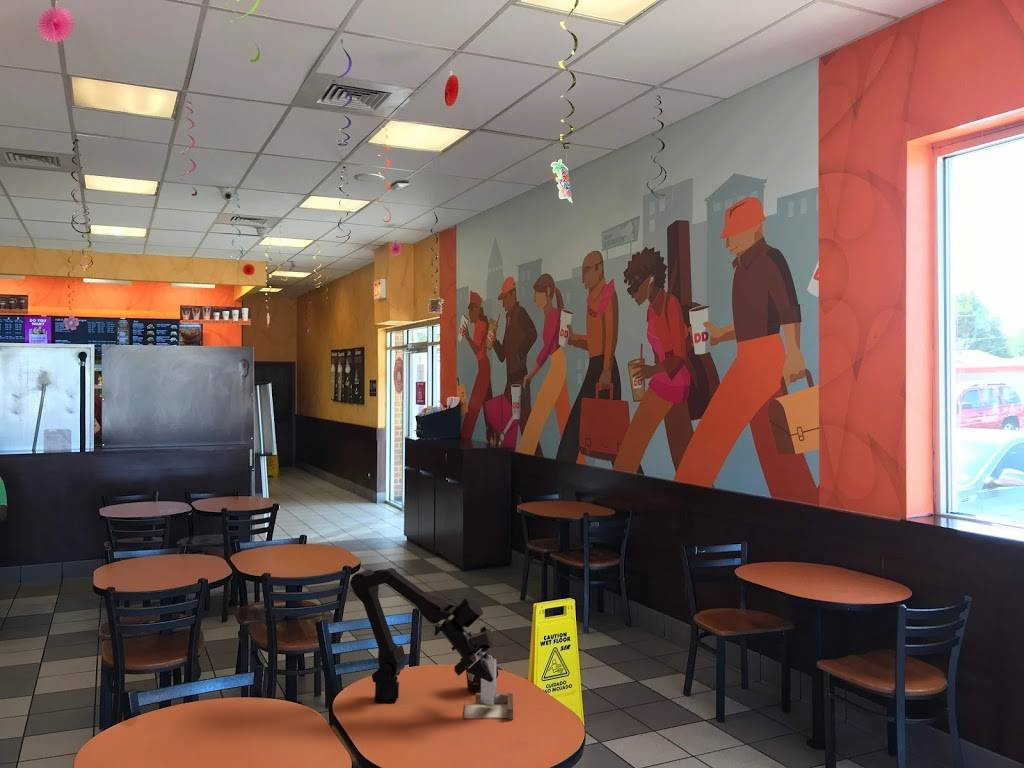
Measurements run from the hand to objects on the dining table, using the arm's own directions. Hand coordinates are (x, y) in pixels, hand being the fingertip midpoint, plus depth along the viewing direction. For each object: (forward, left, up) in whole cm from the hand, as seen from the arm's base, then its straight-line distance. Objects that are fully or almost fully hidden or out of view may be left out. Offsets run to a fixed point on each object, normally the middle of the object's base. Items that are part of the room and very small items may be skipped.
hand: (493, 679), depth 231 cm
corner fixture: (-1, +2, -10) cm, 10 cm away
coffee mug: (-4, +17, -10) cm, 21 cm away
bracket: (-1, +2, -7) cm, 7 cm away
